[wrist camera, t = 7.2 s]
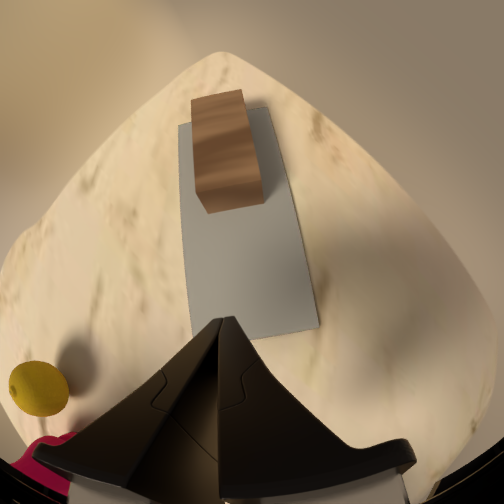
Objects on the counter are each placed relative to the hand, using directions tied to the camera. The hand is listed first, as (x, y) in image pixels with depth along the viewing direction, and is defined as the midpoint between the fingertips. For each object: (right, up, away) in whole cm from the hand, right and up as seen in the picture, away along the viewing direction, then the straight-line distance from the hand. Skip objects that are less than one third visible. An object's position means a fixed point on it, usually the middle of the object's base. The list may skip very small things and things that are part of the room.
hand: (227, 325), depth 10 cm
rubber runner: (-1, +7, +14) cm, 16 cm away
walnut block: (-1, +7, +12) cm, 14 cm away
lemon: (-19, -11, +11) cm, 24 cm away
